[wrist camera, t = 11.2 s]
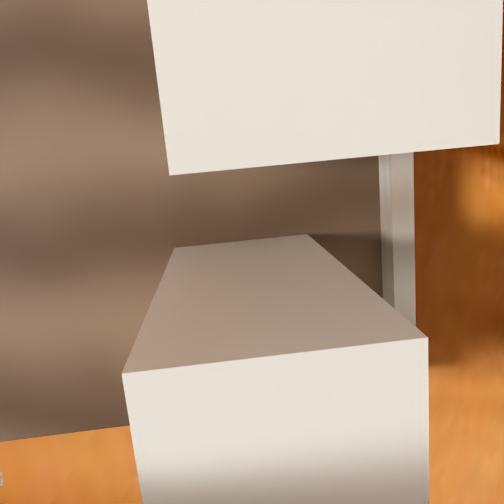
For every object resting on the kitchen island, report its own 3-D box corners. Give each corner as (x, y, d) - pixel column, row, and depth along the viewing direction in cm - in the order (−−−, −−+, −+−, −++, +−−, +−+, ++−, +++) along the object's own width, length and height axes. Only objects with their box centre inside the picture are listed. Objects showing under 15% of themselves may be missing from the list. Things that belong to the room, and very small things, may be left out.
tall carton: (193, 394, 18) (169, 668, 9) (174, 247, 17) (120, 373, 7) (322, 378, 19) (442, 625, 9) (313, 233, 17) (442, 335, 8)
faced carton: (195, 163, 16) (169, 175, 7) (174, -22, 15) (102, -342, 5) (339, 149, 17) (515, 142, 7) (330, -33, 15) (531, -352, 6)
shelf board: (-232, 28, 16) (-338, -2, 13) (375, -16, 18) (410, -53, 14) (-114, 430, 20) (-175, 482, 17) (386, 368, 21) (417, 405, 18)
